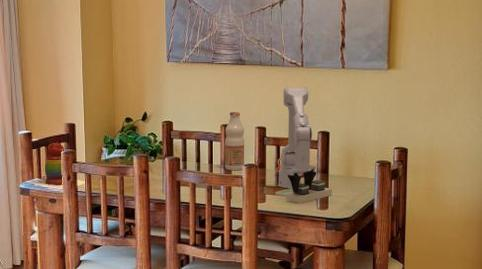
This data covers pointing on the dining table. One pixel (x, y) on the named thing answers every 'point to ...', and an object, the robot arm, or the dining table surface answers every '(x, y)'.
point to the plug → (303, 189)
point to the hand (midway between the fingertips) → (301, 190)
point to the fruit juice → (234, 143)
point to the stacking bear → (54, 164)
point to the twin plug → (318, 185)
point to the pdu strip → (309, 196)
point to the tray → (284, 192)
